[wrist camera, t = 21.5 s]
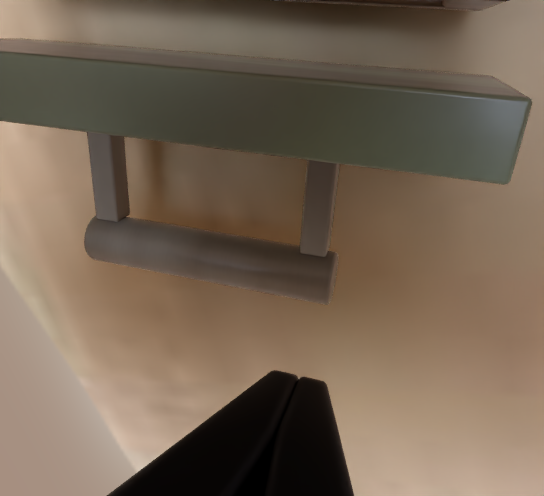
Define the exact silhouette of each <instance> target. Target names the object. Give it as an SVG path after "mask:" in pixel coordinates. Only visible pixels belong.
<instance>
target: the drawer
mask: <svg viewBox="0 0 544 496" xmlns="http://www.w3.org/2000/svg"><path fill="white" fill-rule="evenodd" d="M272 1H292V2H311V3H331V4H350V5H370V6H389V7H409V8H428V9H447V10H467V11H480V10H483V9H486V8H489V7H492V6H495V5H497V4H500V3H503V2H506V1H509V0H272ZM531 106H532V99H530V98H529V97H527V96H525V95H524V94H522V93H520V92H519V91H517V90H515V89H513V88H512V87H510V86H508V85H507V84H505V83H503V82H502V81H500V80H498V79H497V78H495V77H493V76H487V75H475V74H462V73H449V72H437V71H424V70H412V69H399V68H386V67H374V66H361V65H349V64H336V63H324V62H311V61H298V60H286V59H273V58H261V57H248V56H235V55H223V54H210V53H198V52H185V51H173V50H160V49H147V48H135V47H122V46H110V45H97V44H84V43H72V42H59V41H47V40H34V39H0V121H4V122H12V123H20V124H28V125H36V126H44V127H52V128H60V129H68V130H76V131H83V132H87V136H88V145H89V154H90V163H91V172H92V182H93V191H94V200H95V209H96V216H94V217H93V218H92V219H91V221H90V222H89V224H88V226H87V229H86V232H85V239H84V243H85V249H86V252H87V254H88V255H89V257H91V258H92V259H94V260H98V261H103V262H108V263H113V264H118V265H123V266H129V267H134V268H139V269H144V270H149V271H154V272H160V273H165V274H170V275H175V276H180V277H185V278H191V279H196V280H201V281H206V282H211V283H216V284H221V285H227V286H232V287H237V288H242V289H247V290H252V291H258V292H263V293H268V294H273V295H278V296H283V297H289V298H294V299H299V300H304V301H309V302H314V303H319V304H325V305H327V304H329V303H330V301H331V298H332V295H333V291H334V286H335V281H336V275H337V268H338V254H337V253H336V252H333V251H328V250H329V247H330V242H331V234H332V226H333V217H334V209H335V201H336V192H337V184H338V176H339V167H340V164H344V165H352V166H360V167H368V168H376V169H384V170H392V171H400V172H408V173H416V174H423V175H431V176H439V177H447V178H455V179H463V180H471V181H479V182H487V183H495V184H503V185H504V184H508V183H509V182H510V180H511V177H512V173H513V170H514V166H515V162H516V159H517V155H518V152H519V148H520V145H521V141H522V138H523V134H524V131H525V127H526V123H527V120H528V116H529V113H530V109H531ZM124 137H131V138H139V139H147V140H155V141H163V142H170V143H178V144H186V145H194V146H202V147H210V148H218V149H226V150H234V151H242V152H250V153H257V154H265V155H273V156H281V157H289V158H297V159H305V160H307V170H306V182H305V193H304V204H303V215H302V226H301V237H300V246H297V245H291V244H285V243H279V242H273V241H267V240H261V239H255V238H249V237H243V236H237V235H231V234H226V233H220V232H214V231H208V230H202V229H196V228H190V227H184V226H178V225H172V224H166V223H160V222H154V221H148V220H142V219H136V218H130V217H126V216H128V215H129V214H130V208H129V195H128V182H127V169H126V156H125V143H124Z"/></svg>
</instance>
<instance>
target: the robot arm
mask: <svg viewBox="0 0 544 496" xmlns="http://www.w3.org/2000/svg"><path fill="white" fill-rule="evenodd" d="M107 496H354V493H353V489H352V485H351V481H350V477H349V473H348V469H347V465H346V460H345V456H344V452H343V448H342V444H341V440H340V436H339V432H338V428H337V424H336V420H335V416H334V412H333V408H332V404H331V400H330V396H329V392H328V387H327V385H326V383H325V382H324V381H320V380H316V379H312V378H307V377H301V378H300V379H298V377H297V376H296V375H294V374H290V373H286V372H281V371H277V370H274V371H271V372H269V373H268V374H267V375H266V376H264V377H263V378H262V379H260V380H259V381H258V382H256V383H255V384H254V385H252V386H251V387H250V388H248V389H247V390H246V391H244V392H243V393H242V394H240V395H239V396H238V397H236V398H235V399H234V400H233V401H231V402H230V403H229V404H227V405H226V406H225V407H223V408H222V409H221V410H219V411H218V412H217V413H215V414H214V415H213V416H211V417H210V418H209V419H207V420H206V421H205V422H203V423H202V424H201V425H199V426H198V427H197V428H196V429H194V430H193V431H192V432H190V433H189V434H188V435H186V436H185V437H184V438H182V439H181V440H180V441H178V442H177V443H176V444H174V445H173V446H172V447H170V448H169V449H168V450H166V451H165V452H164V453H163V454H161V455H160V456H159V457H157V458H156V459H155V460H153V461H152V462H151V463H149V464H148V465H147V466H145V467H144V468H143V469H141V470H140V471H139V472H137V473H136V474H135V475H134V476H132V477H131V478H130V479H128V480H127V481H126V482H124V483H123V484H122V485H121V486H119V487H118V488H116V489H115V490H114V491H113V492H111V493H110V494H109V495H107Z"/></svg>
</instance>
